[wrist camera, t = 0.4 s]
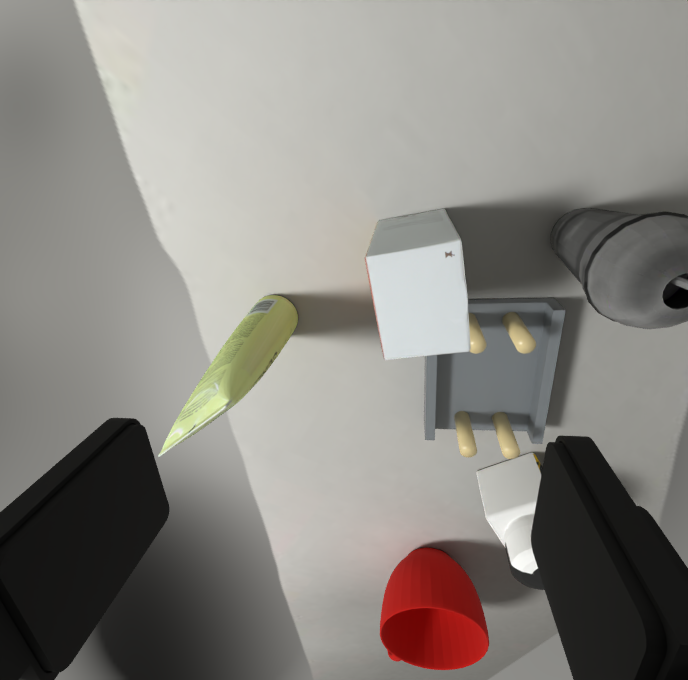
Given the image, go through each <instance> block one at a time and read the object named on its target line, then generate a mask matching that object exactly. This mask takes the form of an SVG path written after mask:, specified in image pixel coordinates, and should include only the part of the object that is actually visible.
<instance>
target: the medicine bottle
mask: <svg viewBox="0 0 688 680" xmlns="http://www.w3.org/2000/svg"><path fill="white" fill-rule="evenodd" d="M542 469H543V467H542V466H541V464H540V462H539V460H538V458H537V457H536V455H535V454H534V453H528V454H525V455H522V456H519V457H517V458H514V459H511V460H508V461H505V462H502V463H499V464H496V465H493V466H490V467H487V468H484V469H482V470H479V471H477V473H476V474H477V478H478V483H479V488H480V493H481V497H482V502H483V507H484V511H485V516H486V519H487V521H488V522H489V524H490V525H491V527H492V528H493V530H494V531H495V533H496V535H497V536H498V538H499V539H500V541H501V542H502V544H503V545H504V547H505V548H506V552H507V556H508V560H509V564H510V568H511V572H512V574H513V576H514V577H515V578H516V579H517V580H518V581H519V582H521V583H522V584H524V585H526V586H528V587H531V588H534V589H541V590H545V589H544V585H543V582H542V579H541V576H540V573H539V570H538V567H537V564H536V560H535V557H534V554H533V551H532V546H531V530H532V525H533V519H534V514H535V508H536V502H537V497H538V491H539V486H540V480H541V474H542Z"/></svg>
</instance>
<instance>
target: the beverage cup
mask: <svg viewBox="0 0 688 680" xmlns="http://www.w3.org/2000/svg"><path fill="white" fill-rule="evenodd" d="M551 245H552V248H553V250H554V251H555V252H556V254H557V256H558V257H559V258H560V259H561V261H562V262H563V263H564V264H565V265H566V266H567V268H568V269H569V270H570V271H571V272H572V274H573V275H574V276H575V277H576V278H577V279H578V281H579V282H580V283H581V284H582V287H583V290H584V292H585V294H586V296H587V299H588V302H589V303H590V304H591V305H592V306H593V308H594V309H595V310H596V311H597V312H598V313H599V314H601V315H603V316H605V317H607V318H609V319H610V320H612V321H616V322H619V323H621V324H623V325H626V326H632V327H637V328H643V329H655V328H665V327H672V326H675V325H678V324H681V323H684V322H686V321H688V216H686V215H684V214H677V213H671V212H658V213H650V214H641V215H636V214H629V213H622V212H614V211H607V210H600V209H592V208H591V209H586V208H582V209H576V210H573V211H571V212H569V213H566V214H565V215H564V216H563V217H561V218H560V219H559V220H558V222H557V223H556V224H555V226H554V228H553V230H552V233H551Z"/></svg>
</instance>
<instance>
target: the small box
mask: <svg viewBox="0 0 688 680" xmlns="http://www.w3.org/2000/svg"><path fill="white" fill-rule="evenodd" d="M365 262H366V267H367V273H368V278H369V284H370V289H371V294H372V299H373V305H374V310H375V315H376V321H377V326H378V331H379V336H380V341H381V347H382V352H383V357H384V360H392V359H401V358H410V357H419V356H430V355H440V354H450V353H461V352H469V351H470V349H471V345H470V329H469V313H468V295H467V284H466V278H465V270H464V259H463V249H462V241H461V238H460V236H459V234H458V233H457V231H456V229H455V227H454V225H453V223H452V222H451V220H450V218H449V216H448V214H447V212H446V210H445V209H439V210H434V211H429V212H424V213H418V214H413V215H407V216H402V217H396V218H391V219H386V220H380V221H378V222H377V225H376V228H375V231H374V234H373V237H372V239H371V242H370V245H369V248H368V251H367V254H366V257H365Z"/></svg>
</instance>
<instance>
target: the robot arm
mask: <svg viewBox="0 0 688 680" xmlns="http://www.w3.org/2000/svg"><path fill="white" fill-rule="evenodd" d="M168 515H169V504H168V501H167V498H166V495H165V491H164V488H163V485H162V481H161V478H160V475H159V472H158V468H157V465H156V462H155V459H154V455H153V452H152V448H151V445H150V442H149V439H148V435H147V432H146V429H145V427H143V426H142V425H140V423H139V421H137V420H136V419H131V418H111V419H109V420H107V421H106V422H105V423H103V424H102V425H101V426H100V427H99V428H98V429H97V430H95V431H94V432H93V433H92V434H91V435H90V436H88V437H87V438H86V439H85V440H84V441H82V442H81V443H80V444H79V445H78V446H77V447H76V448H74V449H73V450H72V451H71V452H70V453H69V454H67V455H66V456H65V457H64V458H63V459H62V460H60V461H59V462H58V463H57V464H56V465H55V466H53V467H52V468H51V469H50V470H49V471H48V472H47V473H46V474H44V475H43V476H42V477H41V478H40V479H38V480H37V481H36V482H35V483H34V484H33V485H31V486H30V487H29V488H28V489H27V490H26V491H25V492H23V493H22V494H21V495H20V496H19V497H18V498H16V499H15V500H14V501H13V502H12V503H11V504H9V505H8V506H7V507H6V508H5V509H4V510H3V511H1V512H0V680H54V679H55V678H56V676H57V675H58V674H59V672H61V671H63V670H65V669H66V668H67V667H68V666H69V665H70V664H71V662H72V661H73V659H74V658H75V657H76V655H77V654H78V652H79V651H80V649H81V648H82V646H83V644H84V643H85V642H86V640H87V639H88V637H89V636H90V634H91V633H92V631H93V630H94V628H95V627H96V625H97V624H98V622H99V621H100V619H101V618H102V616H103V615H104V613H105V612H106V610H107V609H108V607H109V606H110V604H111V603H112V601H113V600H114V598H115V597H116V595H117V594H118V592H119V591H120V589H121V588H122V586H123V585H124V583H125V582H126V580H127V579H128V577H129V576H130V574H131V573H132V571H133V570H134V569H135V567H136V566H137V564H138V563H139V561H140V560H141V558H142V557H143V555H144V554H145V552H146V551H147V549H148V548H149V546H150V545H151V543H152V541H153V540H154V539H155V537H156V536H157V534H158V532H159V531H160V530H161V528H162V527H163V525H164V524H165V522H166V520H167V518H168ZM531 546H532V551H533V554H534V557H535V560H536V564H537V567H538V570H539V573H540V576H541V579H542V582H543V585H544V589H545V592H546V595H547V598H548V601H549V604H550V607H551V610H552V613H553V617H554V620H555V623H556V626H557V629H558V632H559V635H560V638H561V642H562V645H563V648H564V651H565V654H566V657H567V660H568V663H569V666H570V670H571V672H572V676H573V679H574V680H688V568H687V567H686V565H685V564H684V562H683V561H682V559H681V558H680V557H679V555H678V553H677V552H676V551H675V549H674V548H673V546H672V545H671V543H670V542H669V541H668V539H667V537H666V536H665V535H664V533H663V532H662V530H661V529H660V527H659V526H658V524H657V523H656V521H655V520H654V519H653V517H652V516H651V515H650V514H649V513H648V511H647V510H645V509H644V508H642V507H640V506H636V505H635V503H634V502H633V500H632V499H631V497H630V496H629V494H628V493H627V491H626V490H625V488H624V487H623V485H622V484H621V482H620V481H619V479H618V478H617V476H616V475H615V473H614V472H613V470H612V469H611V467H610V466H609V464H608V463H607V461H606V460H605V458H604V457H603V455H602V454H601V452H600V450H599V449H598V447H597V446H596V444H595V443H594V441H593V440H592V439H591V438H589V437H581V436H558V437H557V439H556V442H549V443H548V444H547V447H546V452H545V458H544V463H543V469H542V474H541V480H540V486H539V491H538V497H537V502H536V508H535V514H534V519H533V525H532V530H531Z"/></svg>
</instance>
